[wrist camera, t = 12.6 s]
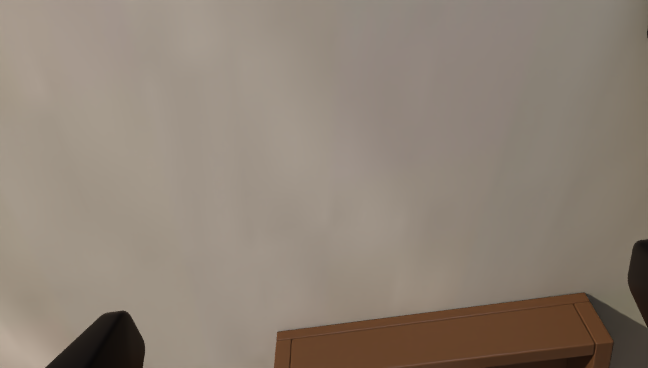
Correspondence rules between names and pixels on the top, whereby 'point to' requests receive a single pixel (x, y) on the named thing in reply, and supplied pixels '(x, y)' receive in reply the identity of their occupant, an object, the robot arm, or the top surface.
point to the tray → (459, 339)
